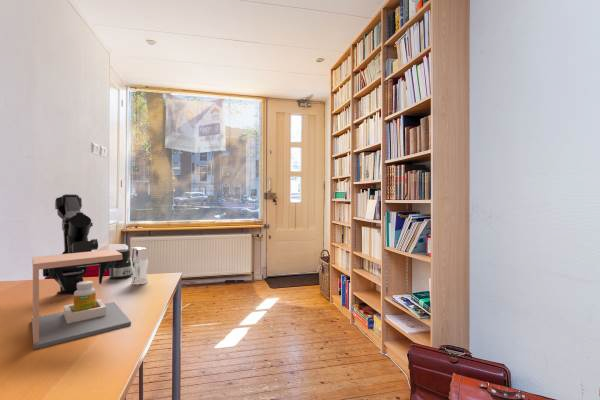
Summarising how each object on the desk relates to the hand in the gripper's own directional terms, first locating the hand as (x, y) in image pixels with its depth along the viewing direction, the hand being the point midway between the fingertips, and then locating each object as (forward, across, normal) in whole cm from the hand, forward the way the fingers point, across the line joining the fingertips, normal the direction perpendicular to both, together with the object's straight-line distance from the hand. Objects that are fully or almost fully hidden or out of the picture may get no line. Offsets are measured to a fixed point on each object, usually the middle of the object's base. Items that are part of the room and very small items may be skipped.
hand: (83, 286), depth 94 cm
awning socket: (+12, -1, +1) cm, 12 cm away
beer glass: (-12, +23, +24) cm, 35 cm away
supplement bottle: (+8, 0, +3) cm, 9 cm away
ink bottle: (-23, +19, +37) cm, 47 cm away
